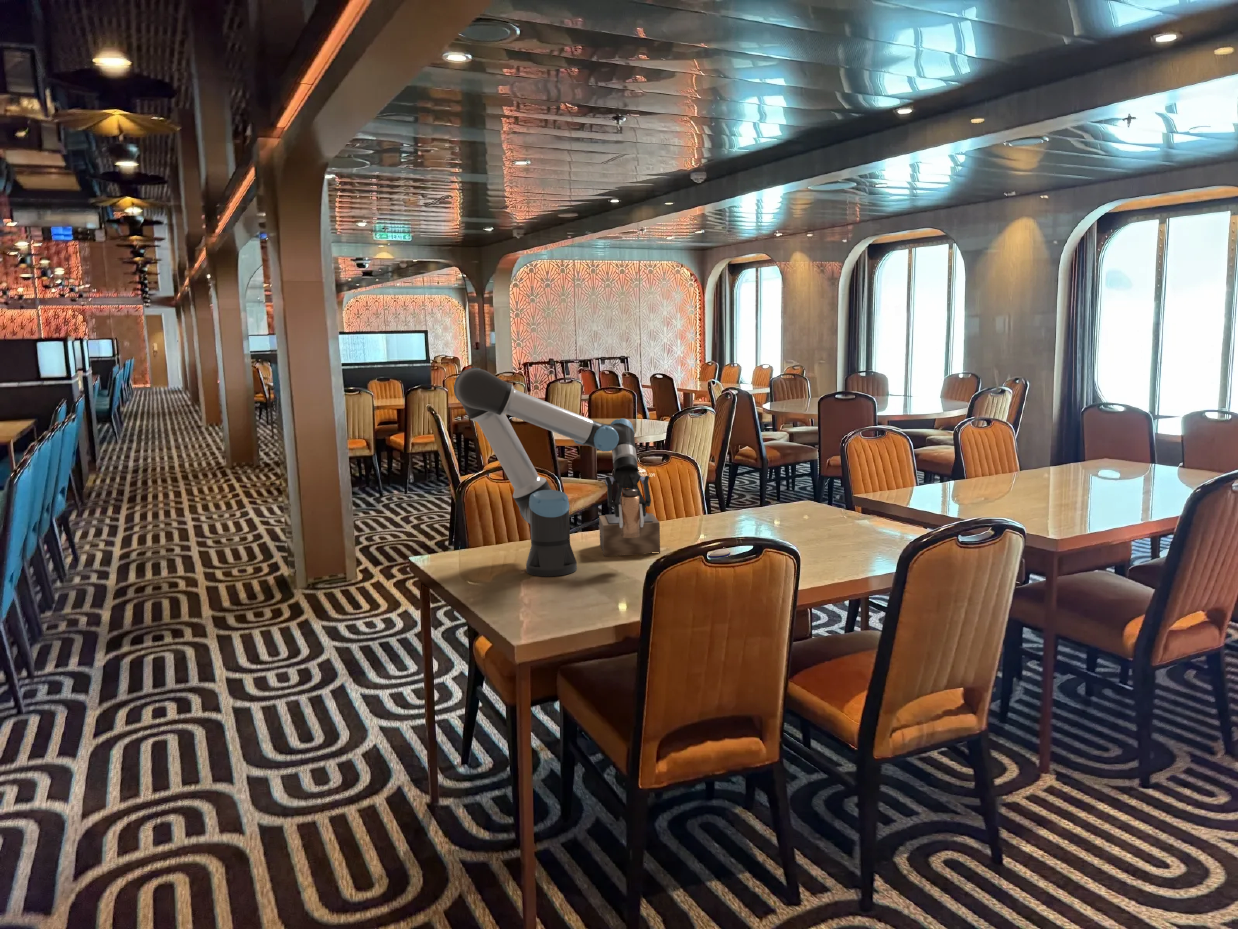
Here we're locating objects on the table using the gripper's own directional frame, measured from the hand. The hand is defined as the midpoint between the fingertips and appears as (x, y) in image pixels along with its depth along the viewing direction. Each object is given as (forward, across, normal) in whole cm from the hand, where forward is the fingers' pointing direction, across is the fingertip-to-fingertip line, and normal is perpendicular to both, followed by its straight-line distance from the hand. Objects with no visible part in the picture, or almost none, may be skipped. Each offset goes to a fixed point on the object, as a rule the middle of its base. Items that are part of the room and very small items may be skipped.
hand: (631, 524), depth 255 cm
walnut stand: (-10, -2, -29) cm, 31 cm away
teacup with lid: (+22, -22, +2) cm, 31 cm away
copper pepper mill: (0, 0, -6) cm, 6 cm away
